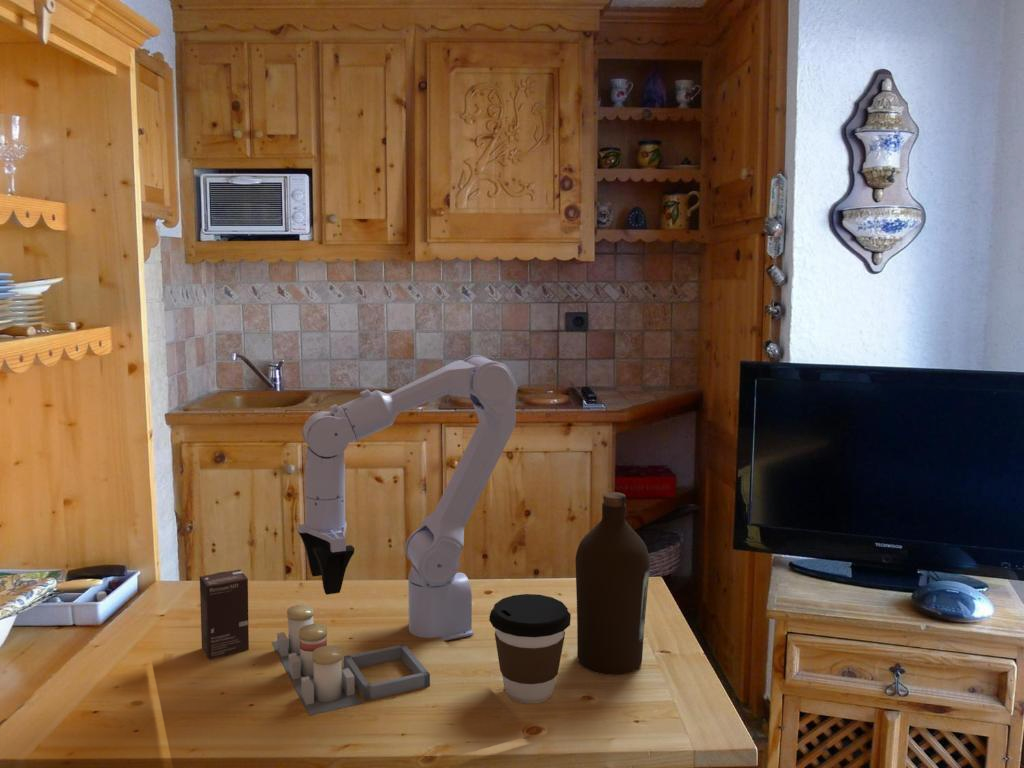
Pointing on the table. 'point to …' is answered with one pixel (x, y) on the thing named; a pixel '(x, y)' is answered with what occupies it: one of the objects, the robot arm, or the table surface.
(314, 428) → the robot arm
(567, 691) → the table surface
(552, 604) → the coffee cup
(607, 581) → the olive oil
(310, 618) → the beige capped white cylinder
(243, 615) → the box
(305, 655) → the cylinder
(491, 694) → the table surface
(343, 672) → the holder
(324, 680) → the cylinder
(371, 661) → the tray
